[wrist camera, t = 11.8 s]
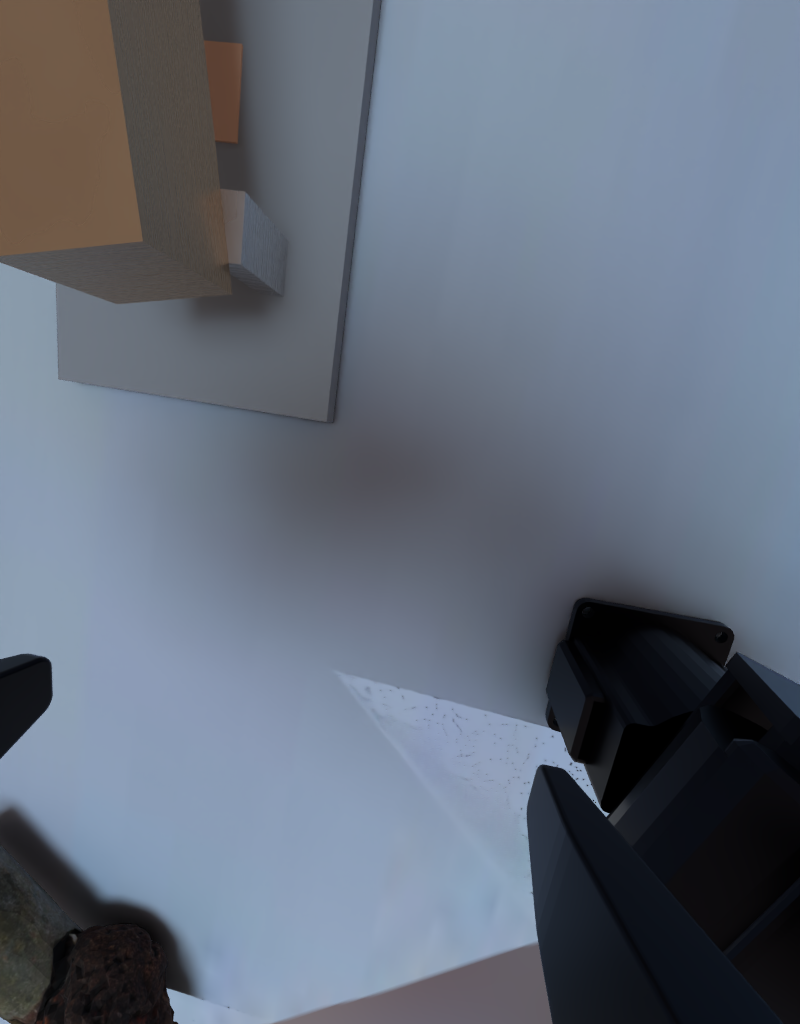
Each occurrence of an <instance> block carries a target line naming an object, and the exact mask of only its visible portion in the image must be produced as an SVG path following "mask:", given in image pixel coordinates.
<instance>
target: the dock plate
mask: <svg viewBox="0 0 800 1024" xmlns="http://www.w3.org/2000/svg"><path fill="white" fill-rule="evenodd" d="M199 2H200V11H201V19H202V28H203V37H204V46H205V55H206V64H207V73H208V82H209V91H210V100H211V109H212V118H213V127H214V136H215V144H216V153H217V162H218V171H219V180H220V189H227V190H236V191H244V192H246V193H247V194H248V195H249V196H250V198H251V199H252V200H253V201H254V202H255V203H256V204H257V206H258V207H259V208H260V209H261V210H262V211H263V212H264V213H265V215H266V216H267V217H268V218H269V219H270V220H271V221H272V223H273V224H274V225H275V226H276V227H277V228H278V229H279V231H280V232H281V233H282V234H283V235H284V236H285V237H286V239H287V240H288V253H287V265H286V277H285V288H284V297H279V296H271V295H264V294H259V293H257V292H256V291H254V290H253V289H252V288H250V287H249V286H247V285H246V284H244V283H243V282H241V281H240V280H238V279H237V278H235V277H234V276H233V275H231V274H230V278H231V287H232V295H222V296H210V297H199V298H187V299H175V300H163V301H151V302H139V303H127V304H115V303H112V302H109V301H106V300H103V299H101V298H98V297H95V296H92V295H90V294H87V293H84V292H81V291H78V290H76V289H73V288H70V287H67V286H64V285H62V284H59V283H56V305H57V343H58V379H59V380H65V381H72V382H78V383H84V384H90V385H97V386H103V387H109V388H116V389H122V390H128V391H134V392H141V393H147V394H153V395H159V396H166V397H172V398H178V399H185V400H191V401H197V402H203V403H210V404H216V405H222V406H228V407H235V408H241V409H247V410H253V411H260V412H266V413H272V414H279V415H285V416H291V417H297V418H304V419H310V420H316V421H322V422H333V418H334V409H335V400H336V392H337V383H338V374H339V365H340V357H341V348H342V339H343V330H344V322H345V313H346V304H347V295H348V287H349V278H350V269H351V261H352V252H353V243H354V234H355V226H356V217H357V208H358V199H359V191H360V182H361V173H362V164H363V156H364V147H365V138H366V130H367V121H368V112H369V103H370V95H371V86H372V77H373V68H374V60H375V51H376V42H377V33H378V25H379V16H380V7H381V0H199Z"/></svg>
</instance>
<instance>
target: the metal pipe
mask: <svg viewBox="0 0 800 1024" xmlns="http://www.w3.org/2000/svg"><path fill="white" fill-rule="evenodd" d="M167 964H168V961H167V957H166V955H165V953H164V951H163V949H162V947H161V945H160V944H159V943H156V942H154V941H151V938H150V935H149V934H148V933H147V932H146V931H145V930H144V929H142V928H140V927H138V926H137V925H136V924H127V925H124V924H117V925H113V926H111V925H108V926H106V927H103V926H93V927H90V928H88V929H87V930H85V931H84V930H82V929H81V928H80V927H79V926H78V925H77V924H76V923H75V922H73V921H72V920H71V919H70V918H69V916H68V915H67V914H66V913H65V912H64V911H63V910H62V909H61V908H60V907H59V906H58V905H57V904H56V903H55V902H54V901H53V899H52V898H51V897H50V896H49V895H48V894H47V893H46V892H45V891H44V890H43V889H42V888H41V887H40V886H39V885H38V884H37V883H36V882H35V881H34V879H33V878H32V877H31V876H30V875H29V874H28V873H27V872H26V871H25V870H24V869H23V868H22V867H21V866H20V865H19V864H18V863H17V861H16V860H15V859H14V858H13V857H12V856H11V855H10V854H9V853H8V852H7V851H6V850H5V849H4V848H3V847H2V846H1V845H0V1017H1V1018H3V1019H4V1020H6V1021H8V1022H9V1023H11V1024H178V1023H177V1022H174V1021H173V1016H174V1011H173V1009H172V1007H171V1006H170V999H169V997H168V994H167V989H166V982H165V968H166V966H167Z"/></svg>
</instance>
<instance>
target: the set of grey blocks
mask: <svg viewBox="0 0 800 1024" xmlns="http://www.w3.org/2000/svg"><path fill="white" fill-rule="evenodd" d="M221 198H222V207H223V216H224V225H225V234H226V243H227V252H228V261H229V269H230V274H231V275H233V276H234V277H235V278H237V279H238V280H240V281H241V282H243V283H244V284H246V285H247V286H249V287H250V288H252V289H253V290H254V291H256V292H257V293H259V294H264V295H271V296H279V297H284V288H285V277H286V265H287V253H288V240H287V239H286V237H285V236H284V235H283V234H282V233H281V232H280V231H279V229H278V228H277V227H276V226H275V225H274V224H273V223H272V221H271V220H270V219H269V218H268V217H267V216H266V215H265V213H264V212H263V211H262V210H261V209H260V208H259V207H258V206H257V204H256V203H255V202H254V201H253V200H252V199H251V198H250V196H249V195H248V194H247V193H246V192H244V191H236V190H227V189H221Z"/></svg>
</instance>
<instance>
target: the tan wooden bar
mask: <svg viewBox="0 0 800 1024" xmlns="http://www.w3.org/2000/svg"><path fill="white" fill-rule="evenodd" d="M0 262H1V263H3V264H6V265H9V266H12V267H14V268H17V269H20V270H23V271H26V272H28V273H31V274H34V275H37V276H39V277H42V278H45V279H48V280H51V281H53V282H56V283H59V284H62V285H64V286H67V287H70V288H73V289H76V290H78V291H81V292H84V293H87V294H90V295H92V296H95V297H98V298H101V299H103V300H106V301H109V302H112V303H115V304H127V303H139V302H151V301H163V300H175V299H187V298H199V297H210V296H222V295H232V287H231V278H230V269H229V261H228V252H227V243H226V234H225V225H224V216H223V207H222V198H221V189H220V180H219V171H218V162H217V153H216V144H215V136H214V127H213V118H212V109H211V100H210V91H209V82H208V73H207V64H206V55H205V46H204V37H203V28H202V19H201V11H200V2H199V0H0Z"/></svg>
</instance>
